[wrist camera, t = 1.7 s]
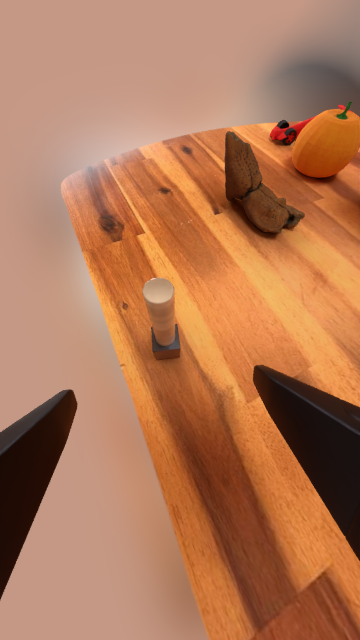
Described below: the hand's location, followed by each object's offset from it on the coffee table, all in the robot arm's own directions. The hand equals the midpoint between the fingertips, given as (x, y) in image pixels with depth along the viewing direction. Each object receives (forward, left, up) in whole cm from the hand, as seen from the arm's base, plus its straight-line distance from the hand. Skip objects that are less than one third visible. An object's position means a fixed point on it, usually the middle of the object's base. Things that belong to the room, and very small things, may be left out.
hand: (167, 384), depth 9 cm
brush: (+6, 0, -12) cm, 13 cm away
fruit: (+41, -38, -12) cm, 57 cm away
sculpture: (+29, -20, -12) cm, 37 cm away
